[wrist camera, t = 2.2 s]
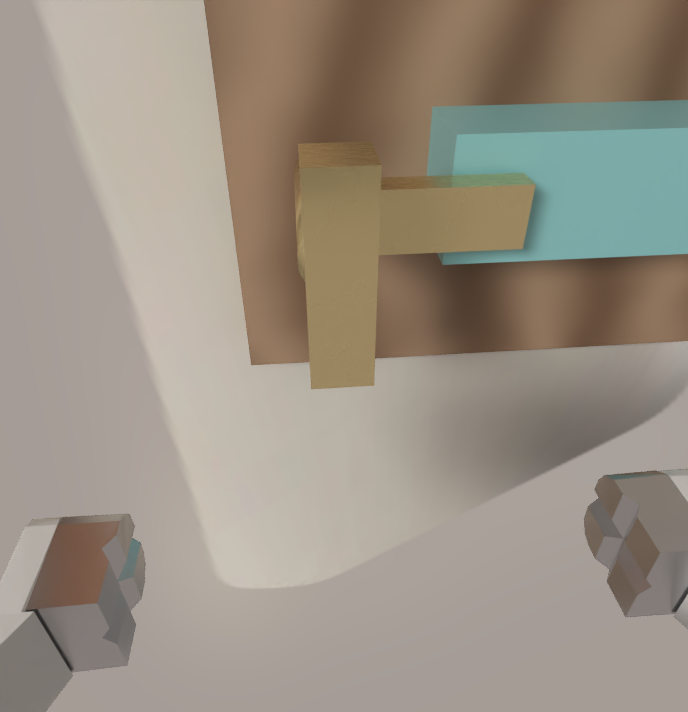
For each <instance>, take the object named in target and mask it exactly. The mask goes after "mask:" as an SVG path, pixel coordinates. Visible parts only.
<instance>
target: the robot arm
mask: <svg viewBox="0 0 688 712" xmlns="http://www.w3.org/2000/svg"><path fill="white" fill-rule="evenodd" d="M595 491H596V493H597V495H598V497H599V498H598V499H597V500H596V501H594V502H593V503H592V504H590V505H589V506H588V508H587V511H586V515H585V518H584V526H585V535H586V539H587V542H588V545H589V547H590V549H591V551H592V553H593V555H594V557H595V559H596V560H598V561H599V562H600V563H602V564H603V565H605V566H606V567H607V568H609V574H608V578H607V583H608V584H609V586H610V588H611V590H612V592H613V594H614V596H615V598H616V600H617V602H618V604H619V606H620V607H621V609H622V611H623V613H624V615H625V617H636V616H651V615H665V614H675V615H674V617H675V618H676V619H677V620H678V621H679V622H680V623H681V624H682V625H684V626H685V627H686V628H687V629H688V469H679V470H667V471H647V472H636V473H625V474H615V475H605V476H603V477H602V478H601V479H599V480H598V483H597V485H596V487H595ZM134 527H135V526H134V523H133V521H132V519H131V516H130V514H114V515H95V516H76V517H59V518H46V519H32V520H31V522H30V523H29V524H28V525H27V526H26V527H25V528H24V530H23V532H22V534H21V537H20V539H19V541H18V543H17V546H16V548H15V550H14V552H13V555H12V557H11V559H10V562H9V564H8V566H7V568H6V571H5V573H4V575H3V577H2V580H1V582H0V712H46V711H47V709H48V708H49V707H50V705H51V704H52V703H53V701H54V700H55V699H56V697H57V696H58V695H59V694H60V692H61V691H62V690H63V688H64V687H65V686H66V684H67V683H68V682H69V680H70V679H71V678H72V676H73V675H72V673H71V672H79V671H86V670H87V671H88V670H95V669H104V668H112V667H119V666H127V664H128V660H129V655H130V651H131V646H132V641H133V636H134V632H135V627H136V623H135V621H134V619H133V616H132V614H131V610H132V609H133V608H134V606H135V605H136V604H137V603H138V602H139V601H140V600H141V599H142V593H143V588H144V583H145V557H144V551H143V548H142V545H141V543H140V542H138V541H137V540H135V539H134V538H132V536H133V532H134Z"/></svg>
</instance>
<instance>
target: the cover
mask: <svg viewBox="0 0 688 712" xmlns="http://www.w3.org/2000/svg"><path fill="white" fill-rule="evenodd" d="M499 173H525V174H526V175H527V176H528V177H529V178H530V179H531V180H532V181H533V182H534V183H535V184H536V186H535V191H534V196H533V200H532V205H531V210H530V215H529V220H528V225H527V230H526V235H525V240H524V245H523V249H512V250H489V251H466V252H443V253H437V254H438V257H439V259H440V261H441V263H442V265H451V264H473V263H495V262H518V261H540V260H562V259H584V258H606V257H628V256H650V255H672V254H688V100H666V101H628V102H590V103H552V104H514V105H476V106H438V107H432V118H431V130H430V142H429V154H428V166H427V176H441V175H470V174H499Z"/></svg>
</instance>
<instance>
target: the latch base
mask: <svg viewBox="0 0 688 712" xmlns="http://www.w3.org/2000/svg"><path fill="white" fill-rule="evenodd" d="M204 5H205V12H206V20H207V28H208V35H209V43H210V51H211V59H212V66H213V74H214V82H215V89H216V97H217V105H218V112H219V120H220V128H221V135H222V143H223V151H224V158H225V166H226V174H227V182H228V189H229V197H230V205H231V212H232V220H233V228H234V235H235V243H236V251H237V258H238V266H239V274H240V282H241V289H242V297H243V305H244V312H245V320H246V328H247V335H248V343H249V351H250V358H251V365H263V364H281V363H299V362H310V360H309V342H308V323H307V304H306V284H305V281H304V280H303V278H302V277H301V274H300V272H299V268H298V255H297V233H296V210H295V188H294V167H295V164H296V162H297V160H298V158H299V150H298V144H306V143H339V142H372V144H373V146H374V149H375V151H376V153H377V155H378V158H379V160H380V162H381V165H382V171H381V178H383V177H412V176H427V166H428V154H429V142H430V130H431V118H432V107H438V106H476V105H514V104H552V103H590V102H628V101H666V100H688V0H204ZM674 341H688V254H672V255H650V256H628V257H606V258H584V259H562V260H540V261H518V262H495V263H473V264H451V265H442V263H441V261H440V259H439V257H438V254H437V253H420V254H397V255H379V257H378V285H377V313H376V342H375V358H388V357H406V356H424V355H442V354H459V353H477V352H495V351H513V350H531V349H549V348H567V347H585V346H602V345H620V344H638V343H656V342H674Z"/></svg>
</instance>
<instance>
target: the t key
mask: <svg viewBox="0 0 688 712" xmlns="http://www.w3.org/2000/svg"><path fill="white" fill-rule="evenodd" d="M298 150H299V158H298V160H297V162H296V164H295V167H294V188H295V210H296V233H297V255H298V268H299V272H300V274H301V277H302V278H303V280H304V281H305V284H306V304H307V323H308V342H309V360H310V376H311V389H322V388H339V387H356V386H373V385H374V370H375V342H376V313H377V285H378V257H379V255H397V254H420V253H443V252H466V251H489V250H512V249H523V245H524V240H525V235H526V230H527V225H528V220H529V215H530V210H531V205H532V200H533V196H534V191H535V186H536V184H535V183H534V182H533V181H532V180H531V179H530V178H529V177H528V176H527V175H526V174H525V173H499V174H470V175H441V176H412V177H383V178H381V171H382V165H381V162H380V160H379V158H378V155H377V153H376V151H375V149H374V146H373V144H372V142H339V143H306V144H298Z"/></svg>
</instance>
